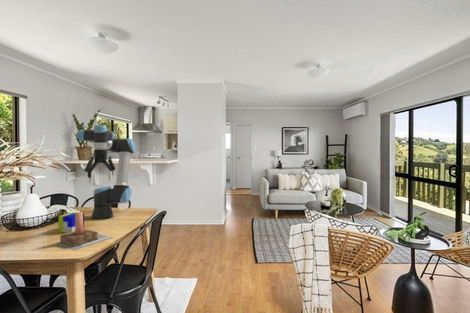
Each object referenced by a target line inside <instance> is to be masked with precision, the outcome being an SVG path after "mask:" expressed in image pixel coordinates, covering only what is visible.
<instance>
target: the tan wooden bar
mask: <svg viewBox="0 0 470 313" xmlns="http://www.w3.org/2000/svg"><path fill="white" fill-rule="evenodd" d="M74 213H75V235H76V236H79V235H82V234H83V229H84V228H83V213H84V212H82V211H80V212H74Z"/></svg>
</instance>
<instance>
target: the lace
mask: <svg viewBox="0 0 470 313" xmlns="http://www.w3.org/2000/svg"><path fill="white" fill-rule="evenodd" d="M109 237H110V236H108V237H105V238H102V239H99V240H96V241H93V242H90V243H87V244H84V245H81V246H85V245H88V244H91V243H94V242H97V241H100V240H103V239H106V238H109Z"/></svg>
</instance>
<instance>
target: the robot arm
mask: <svg viewBox="0 0 470 313" xmlns="http://www.w3.org/2000/svg"><path fill="white" fill-rule="evenodd" d="M76 133H77V134H76V137H77V140H78V141H80V142H89V143H91V144H93V149H94V150H93V155H94V156H89V160H88V162H87V164H86V166H85V169H84V170H83V171H84V172H85V173H87V178H88V183H90V184H93V183H94V182H93V181H94V176H93V175H94V173H93V170H95V168H96V166H98V165H99V164H100V165H101V164H103V165H104V166H105V167H106V168H107V169H108V171H107V174H108V175H107V177H108V178H107V180H108V181H109V182H111V181H113V175H114V171H115V170H116V167H115V164H114V162H113V160H112V156H109V155H108V152H110V153H117V155H118V162H117V163H118V164H117V171H116V180H115V183H114V185H113V188H112V187H111V186H103V187H102V186H101V187H98V188H94V191H93V210H92V213H91V219H94V220H101V219H109V218H112V217H113V216H114V212H113V210H112V205H111V204H126V203H128V202H130V199H131V196H132V188H130V185H128V182H129V172H130V166H131V165H130V164H131V163H130V162H131V157H132V156H133V154H134V153H136V143H135V141H134V140H133V139H132V138H115V133H114V132H113V131H112V130H108V127H107V126H106V125H99V124H98V125H94V126H93V129H79V130H78V131H77V132H76Z"/></svg>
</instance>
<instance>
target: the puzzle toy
mask: <svg viewBox="0 0 470 313" xmlns="http://www.w3.org/2000/svg"><path fill="white" fill-rule="evenodd" d="M75 213H76V212H69V213H66V214H65V213H64V214H62V215H58V232H59V233H71V232H74V231H75ZM83 229H85V213H84V212H83Z"/></svg>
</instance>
